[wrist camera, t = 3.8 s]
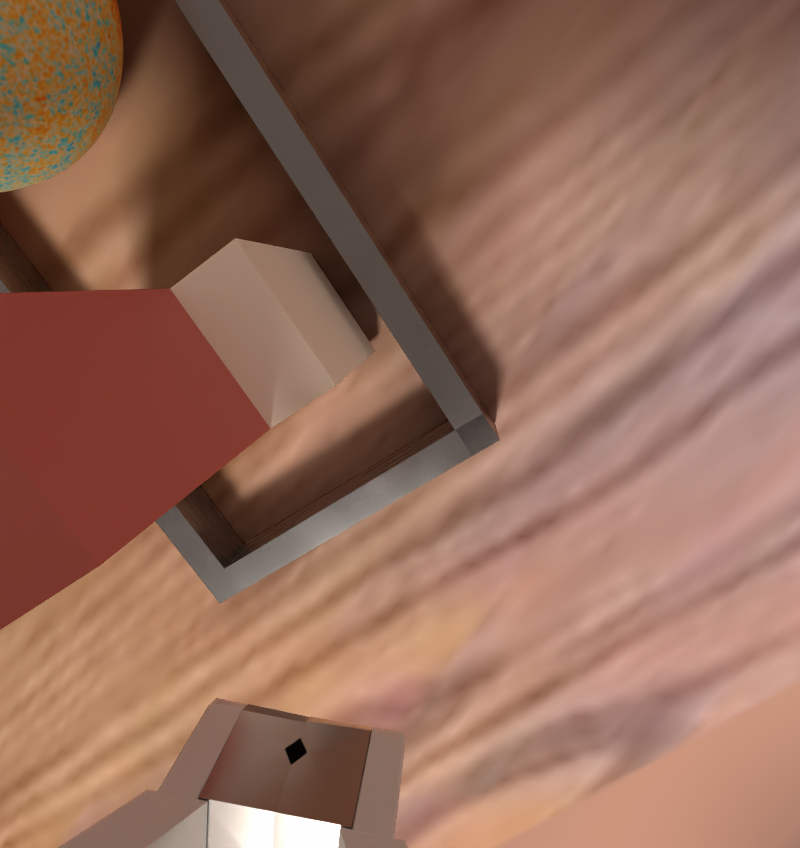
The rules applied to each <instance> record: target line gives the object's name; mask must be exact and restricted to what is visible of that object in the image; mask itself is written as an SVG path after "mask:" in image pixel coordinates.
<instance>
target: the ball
mask: <svg viewBox="0 0 800 848" xmlns="http://www.w3.org/2000/svg"><path fill="white" fill-rule="evenodd" d="M122 68H123V36H122V26H121V19H120V13H119V8H118V3H117V0H0V192H6V191H12V190H17V189H21V188H25V187H28V186H32V185H34V184H37V183H40V182H42V181H45V180H47V179H49V178H51V177H53V176H55V175H57V174H59V173H60V172H62V171H64V170H65V169H67V168H68V167H70V166H71V165H72V164H74V163H75V162H76V161H77V160H79V159H80V158H81V157H82V156H83V155H84V154H85V153H86V152H87V151H88V150H89V149H90V148H91V147H92V145H93V144H94V143H95V142H96V140H97V139H98V137H99V136H100V135H101V133H102V131H103V130H104V128H105V126H106V124H107V123H108V121H109V118H110V116H111V114H112V112H113V109H114V106H115V103H116V100H117V97H118V93H119V88H120V84H121V77H122Z"/></svg>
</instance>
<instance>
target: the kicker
mask: <svg viewBox="0 0 800 848" xmlns="http://www.w3.org/2000/svg"><path fill="white" fill-rule="evenodd" d="M373 352H375V349H374V348H373V346H372V345H371V343H370V342H369V340H368V339H367V337H366V336H365V334H364V333H363V331H362V330H361V328H360V327H359V325H358V324H357V322H356V321H355V319H354V318H353V316H352V315H351V313H350V312H349V310H348V309H347V307H346V306H345V304H344V303H343V301H342V300H341V298H340V297H339V295H338V294H337V292H336V291H335V289H334V288H333V286H332V285H331V283H330V282H329V280H328V279H327V277H326V276H325V274H324V272H323V271H322V269H321V268H320V266H319V265H318V263H317V262H316V260H315V259H314V257H313V256H312V254H311V253H309V252H304V251H298V250H293V249H288V248H283V247H278V246H273V245H268V244H263V243H257V242H252V241H247V240H242V239H237V238H235V239H234V240H232V241H231V242H230V243H228V244H227V245H226V246H224V247H223V248H222V249H221V250H219V251H218V252H217V253H215V254H214V255H213V256H212V257H210V258H209V259H208V260H206V261H205V262H204V263H202V264H201V265H200V266H199V267H197V268H196V269H195V270H193V271H192V272H191V273H189V274H188V275H187V276H186V277H184V278H183V279H182V280H180V281H179V282H178V283H176V284H175V285H174V286H173V287H171V288H170V289H134V290H96V291H58V292H21V293H0V630H1V629H2V628H4V627H5V626H7V625H8V624H10V623H11V622H13V621H14V620H16V619H18V618H19V617H21V616H22V615H24V614H25V613H27V612H28V611H30V610H32V609H33V608H35V607H36V606H38V605H39V604H41V603H42V602H44V601H45V600H47V599H49V598H50V597H52V596H53V595H55V594H56V593H58V592H59V591H61V590H63V589H64V588H66V587H67V586H69V585H70V584H72V583H73V582H75V581H76V580H78V579H80V578H81V577H83V576H84V575H86V574H87V573H89V572H90V571H92V570H94V569H95V568H97V567H98V566H100V565H101V564H102V563H104V562H105V561H106V560H107V559H109V558H110V557H111V556H112V555H114V554H115V553H116V552H117V551H119V550H120V549H121V548H122V547H124V546H125V545H126V544H127V543H129V542H130V541H131V540H132V539H134V538H135V537H136V536H137V535H139V534H140V533H141V532H142V531H144V530H145V529H146V528H147V527H149V526H150V525H151V524H152V523H154V522H155V521H156V520H157V519H159V518H160V517H161V516H162V515H164V514H165V513H166V512H167V511H168V510H170V509H171V508H172V507H173V506H175V505H176V504H177V503H178V502H180V501H181V500H182V499H183V498H185V497H186V496H187V495H188V494H190V493H191V492H192V491H193V490H195V489H196V488H197V487H198V486H200V485H201V484H202V483H203V482H205V481H206V480H207V479H208V478H210V477H211V476H212V475H213V474H215V473H216V472H217V471H218V470H220V469H221V468H222V467H223V466H225V465H226V464H227V463H228V462H230V461H231V460H232V459H233V458H235V457H236V456H237V455H238V454H240V453H241V452H242V451H243V450H245V449H246V448H247V447H248V446H250V445H251V444H252V443H253V442H255V441H256V440H257V439H258V438H259V437H261V436H262V435H263V434H264V433H266V432H267V431H268V430H269V429H271V428H272V427H274V426H275V425H277V424H278V423H280V422H281V421H283V420H284V419H286V418H287V417H289V416H290V415H292V414H293V413H295V412H297V411H298V410H300V409H301V408H303V407H304V406H306V405H307V404H309V403H310V402H312V401H313V400H315V399H316V398H318V397H319V396H321V395H322V394H324V393H325V392H327V391H328V390H330V389H331V388H333V387H334V386H336V385H337V384H338V383H339V382H341V381H342V380H343V379H344V378H345V377H346V376H347V375H348V374H350V373H351V372H352V371H353V370H354V369H355V368H356V367H358V366H359V365H360V364H361V363H362V362H363V361H364V360H366V359H367V358H368V357H369V356H370V355H371V354H372V353H373Z"/></svg>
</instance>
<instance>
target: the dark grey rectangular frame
mask: <svg viewBox="0 0 800 848" xmlns="http://www.w3.org/2000/svg"><path fill="white" fill-rule="evenodd" d="M175 2H176V3H177V5H178V7H179V8H180V10H181V11H182V13H183V14H184V16H185V17H186V19H187V20H188V22H189V23H190V25H191V26H192V28H193V30H194V31H195V33H196V34H197V36H198V37H199V39H200V40H201V42H202V43H203V45H204V46H205V48H206V49H207V51H208V52H209V54H210V56H211V57H212V59H213V60H214V62H215V63H216V65H217V66H218V68H219V69H220V71H221V72H222V74H223V75H224V77H225V79H226V80H227V82H228V83H229V85H230V86H231V88H232V89H233V91H234V92H235V94H236V95H237V97H238V98H239V100H240V102H241V103H242V105H243V106H244V108H245V109H246V111H247V112H248V114H249V115H250V117H251V118H252V120H253V121H254V123H255V124H256V126H257V128H258V129H259V131H260V132H261V134H262V135H263V137H264V138H265V140H266V141H267V143H268V144H269V146H270V147H271V149H272V151H273V152H274V154H275V155H276V157H277V158H278V160H279V161H280V163H281V164H282V166H283V167H284V169H285V170H286V172H287V173H288V175H289V177H290V178H291V180H292V181H293V183H294V184H295V186H296V187H297V189H298V190H299V192H300V193H301V195H302V196H303V198H304V200H305V201H306V203H307V204H308V206H309V207H310V209H311V210H312V212H313V213H314V215H315V216H316V218H317V219H318V221H319V222H320V224H321V226H322V227H323V229H324V230H325V232H326V233H327V235H328V236H329V238H330V239H331V241H332V242H333V244H334V245H335V247H336V249H337V250H338V252H339V253H340V255H341V256H342V258H343V259H344V261H345V262H346V264H347V265H348V267H349V268H350V270H351V271H352V273H353V275H354V276H355V278H356V279H357V281H358V282H359V284H360V285H361V287H362V288H363V290H364V291H365V293H366V294H367V296H368V298H369V299H370V301H371V302H372V304H373V305H374V307H375V308H376V310H377V311H378V313H379V314H380V316H381V317H382V319H383V321H384V322H385V324H386V325H387V327H388V328H389V330H390V331H391V333H392V334H393V336H394V337H395V339H396V340H397V342H398V343H399V345H400V347H401V348H402V350H403V351H404V353H405V354H406V356H407V357H408V359H409V360H410V362H411V363H412V365H413V366H414V368H415V370H416V371H417V373H418V374H419V376H420V377H421V379H422V380H423V382H424V383H425V385H426V386H427V388H428V389H429V391H430V392H431V394H432V396H433V397H434V399H435V400H436V402H437V403H438V405H439V406H440V408H441V409H442V411H443V412H444V414H445V415H446V417H447V419H448V420H447V421H446V422H444V423H442V424H441V425H439V426H438V427H436V428H434V429H433V430H431V431H429V432H428V433H426V434H424V435H423V436H421V437H419V438H418V439H416V440H415V441H413V442H411V443H410V444H408V445H406V446H405V447H403V448H401V449H400V450H398V451H396V452H395V453H393V454H391V455H390V456H388V457H387V458H385V459H383V460H382V461H380V462H378V463H377V464H375V465H373V466H372V467H370V468H368V469H367V470H365V471H363V472H362V473H360V474H359V475H357V476H355V477H354V478H352V479H350V480H349V481H347V482H345V483H344V484H342V485H340V486H339V487H337V488H336V489H334V490H332V491H331V492H329V493H327V494H326V495H324V496H322V497H321V498H319V499H317V500H316V501H314V502H312V503H311V504H309V505H308V506H306V507H304V508H303V509H301V510H299V511H298V512H296V513H294V514H293V515H291V516H289V517H288V518H286V519H285V520H283V521H281V522H280V523H278V524H276V525H275V526H273V527H271V528H270V529H268V530H266V531H265V532H263V533H261V534H260V535H258V536H257V537H255V538H253V539H252V540H250V541H248V542H247V543H245V544H244V543H243V542H242V540H241V539H240V538H239V536H238V535H237V534H236V533H235V531H234V530H233V529H232V527H231V526H230V525H229V523H228V522H227V521H226V519H225V518H224V517H223V515H222V514H221V513H220V511H219V510H218V509H217V508H216V506H215V505H214V504H213V502H212V501H211V500H210V498H209V497H208V496H207V494H206V493H205V492H204V490H203V489H202V488H201V486H198V487H197V488H196V489H195V490H193V491H192V492H191V493H190V494H188V495H187V496H186V497H185V498H183V499H182V500H181V501H180V502H178V503H177V504H176V505H175V506H173V507H172V508H171V509H170V510H168V511H167V512H166V513H165V514H164V515H162V516H161V517H160V518H159V519H157V520H156V523H157V524H158V525H159V527H160V528H161V529H162V530H163V532H164V533H165V534H166V535H167V537H168V538H169V539H170V541H171V542H172V543H173V544H174V546H175V547H176V548H177V549H178V551H179V552H180V553H181V555H182V556H183V557H184V558H185V560H186V561H187V562H188V563H189V565H190V566H191V567H192V569H193V570H194V571H195V572H196V574H197V575H198V576H199V577H200V579H201V580H202V581H203V582H204V584H205V585H206V586H207V588H208V589H209V590H210V591H211V593H212V594H213V595H214V596H215V598H216V599H217V600H218V602H219V603H221V602H223V601H225V600H227V599H228V598H230V597H232V596H233V595H235V594H237V593H238V592H240V591H242V590H244V589H245V588H247V587H249V586H250V585H252V584H254V583H256V582H257V581H259V580H261V579H262V578H264V577H266V576H268V575H269V574H271V573H273V572H274V571H276V570H278V569H280V568H281V567H283V566H285V565H286V564H288V563H290V562H292V561H293V560H295V559H297V558H298V557H300V556H302V555H304V554H305V553H307V552H309V551H310V550H312V549H314V548H316V547H317V546H319V545H321V544H322V543H324V542H326V541H328V540H329V539H331V538H333V537H334V536H336V535H338V534H340V533H341V532H343V531H345V530H346V529H348V528H350V527H351V526H353V525H355V524H357V523H358V522H360V521H362V520H363V519H365V518H367V517H369V516H370V515H372V514H374V513H375V512H377V511H379V510H381V509H382V508H384V507H386V506H387V505H389V504H391V503H393V502H394V501H396V500H398V499H399V498H401V497H403V496H405V495H406V494H408V493H410V492H411V491H413V490H415V489H417V488H418V487H420V486H422V485H423V484H425V483H427V482H429V481H430V480H432V479H434V478H435V477H437V476H439V475H441V474H442V473H444V472H446V471H447V470H449V469H451V468H452V467H454V466H456V465H458V464H459V463H461V462H463V461H464V460H466V459H468V458H470V457H471V456H473V455H475V454H476V453H478V452H480V451H482V450H483V449H485V448H487V447H488V446H490V445H492V444H494V443H495V442H497V441H499V436H498V433H497V429H496V426H495V424H494V422H493V420H492V419H491V417H490V416H489V414H488V413H487V411H486V409H485V408H484V406H483V405H482V403H481V402H480V400H479V398H478V397H477V395H476V394H475V392H474V391H473V389H472V387H471V386H470V384H469V383H468V381H467V380H466V378H465V376H464V375H463V373H462V372H461V370H460V369H459V367H458V365H457V364H456V362H455V361H454V359H453V358H452V356H451V354H450V353H449V351H448V350H447V348H446V347H445V345H444V343H443V342H442V340H441V339H440V337H439V336H438V334H437V332H436V331H435V329H434V328H433V326H432V325H431V323H430V322H429V320H428V318H427V317H426V315H425V314H424V312H423V311H422V309H421V307H420V306H419V304H418V303H417V301H416V300H415V298H414V296H413V295H412V293H411V292H410V290H409V289H408V287H407V285H406V284H405V282H404V281H403V279H402V278H401V276H400V274H399V273H398V271H397V270H396V268H395V267H394V265H393V263H392V262H391V260H390V259H389V257H388V256H387V254H386V252H385V251H384V249H383V248H382V246H381V245H380V243H379V241H378V240H377V238H376V237H375V235H374V234H373V232H372V230H371V229H370V227H369V226H368V224H367V223H366V221H365V220H364V218H363V216H362V215H361V213H360V212H359V210H358V209H357V207H356V205H355V204H354V202H353V201H352V199H351V198H350V196H349V194H348V193H347V191H346V190H345V188H344V187H343V185H342V183H341V182H340V180H339V179H338V177H337V176H336V174H335V172H334V171H333V169H332V168H331V166H330V165H329V163H328V161H327V160H326V158H325V157H324V155H323V154H322V152H321V150H320V149H319V147H318V146H317V144H316V143H315V141H314V139H313V138H312V136H311V135H310V133H309V132H308V130H307V128H306V127H305V125H304V124H303V122H302V121H301V119H300V118H299V116H298V114H297V113H296V111H295V110H294V108H293V107H292V105H291V103H290V102H289V100H288V99H287V97H286V96H285V94H284V92H283V91H282V89H281V88H280V86H279V85H278V83H277V81H276V80H275V78H274V77H273V75H272V74H271V72H270V70H269V69H268V67H267V66H266V64H265V63H264V61H263V59H262V58H261V56H260V55H259V53H258V52H257V50H256V48H255V47H254V45H253V44H252V42H251V41H250V39H249V37H248V36H247V34H246V33H245V31H244V30H243V28H242V27H241V25H240V23H239V22H238V20H237V19H236V17H235V16H234V14H233V12H232V11H231V9H230V8H229V6H228V5H227V3H226V1H225V0H175ZM21 292H52V290H51V289H50V288H49V286H48V285H47V284H46V282H45V281H44V280H43V279H42V277H41V276H40V275H39V273H38V272H37V271H36V269H35V268H34V267H33V265H32V264H31V263H30V261H29V260H28V259H27V257H26V256H25V255H24V254H23V252H22V251H21V250H20V248H19V247H18V246H17V244H16V243H15V242H14V240H13V239H12V238H11V236H10V235H9V234H8V232H7V231H6V230H5V229H4V227H3V226H2V225H1V223H0V293H21Z"/></svg>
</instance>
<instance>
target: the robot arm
mask: <svg viewBox="0 0 800 848" xmlns="http://www.w3.org/2000/svg"><path fill="white" fill-rule="evenodd" d="M405 741H406V737H405V733H403V732H397V731H391V730H385V729H379V728H373V730H372V727H367V726H361V725H355V724H349V723H344V722H338V721H332V720H326V719H320V718H315V717H306V716H302V715H297V714H292V713H287V712H283V711H278V710H273V709H269V708H264V707H259V706H254V705H250V704H248V705H246V704H241V703H237V702H232V701H227V700H223V699H218V698H216V699H215V700H214V701H213V702H212V703H211V704H210V705H209V706H208V707H207V709H206V711H205V712H204V714H203V716H202V717H201V719H200V721H199V722H198V724H197V726H196V727H195V729H194V731H193V733H192V734H191V736H190V738H189V739H188V741H187V743H186V744H185V746H184V748H183V749H182V751H181V753H180V754H179V756H178V758H177V759H176V761H175V763H174V764H173V766H172V768H171V769H170V771H169V773H168V774H167V776H166V778H165V780H164V781H163V783H162V785H161V786H160V788H159V790H158V791H153V790H146V791H144V792H143V793H141V794H140V795H138V796H137V797H135V798H134V799H132V800H130V801H129V802H127V803H126V804H124V805H123V806H121V807H120V808H118V809H117V810H115V811H114V812H112V813H111V814H109V815H107V816H106V817H104V818H103V819H101V820H100V821H98V822H97V823H95V824H94V825H92V826H91V827H89V828H88V829H86V830H84V831H83V832H81V833H80V834H78V835H77V836H75V837H74V838H72V839H71V840H69V841H68V842H66V843H65V844H63V845H61V846H60V847H58V848H408V846H407V844H406V842H405V840H401V839H397V838H394V835H395V826H396V818H397V809H398V801H399V792H400V784H401V775H402V767H403V758H404V750H405Z"/></svg>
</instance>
